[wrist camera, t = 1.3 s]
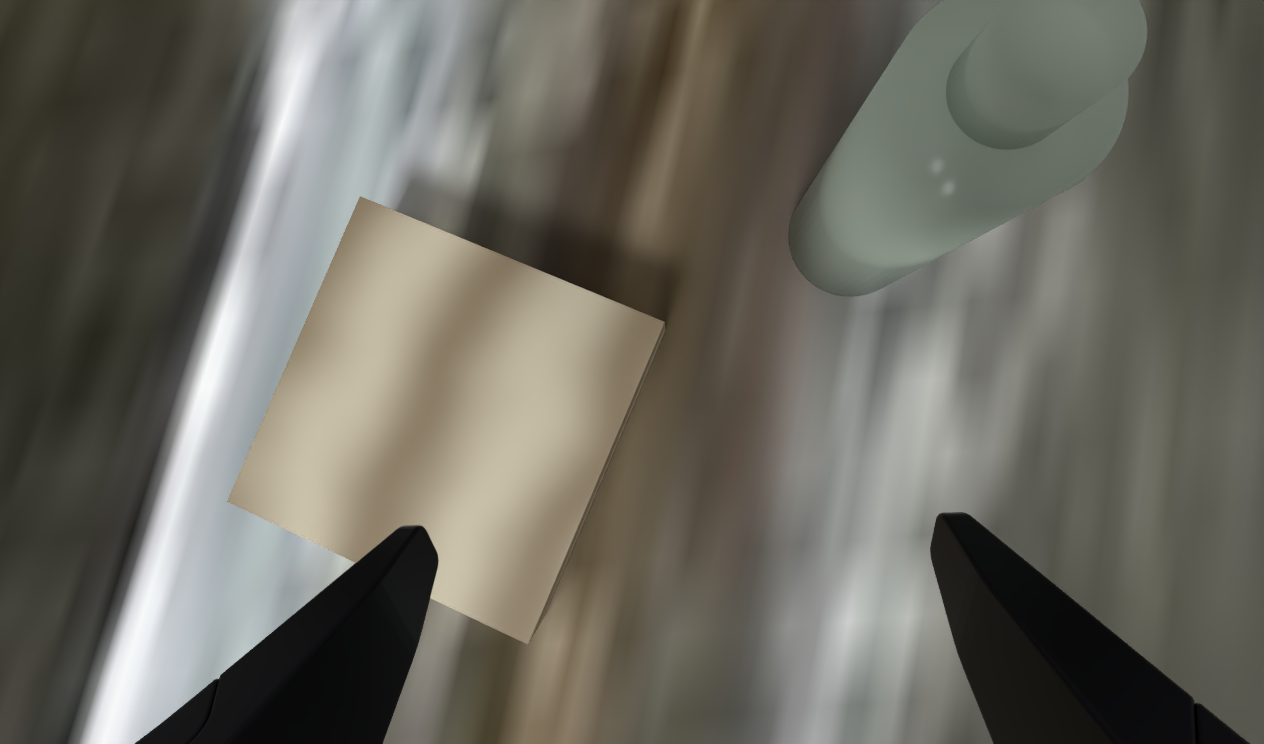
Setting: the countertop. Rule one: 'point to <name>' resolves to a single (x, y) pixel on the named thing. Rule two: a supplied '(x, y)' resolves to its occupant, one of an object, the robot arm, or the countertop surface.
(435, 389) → the birch pad
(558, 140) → the countertop surface
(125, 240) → the countertop surface
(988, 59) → the sage bottle
